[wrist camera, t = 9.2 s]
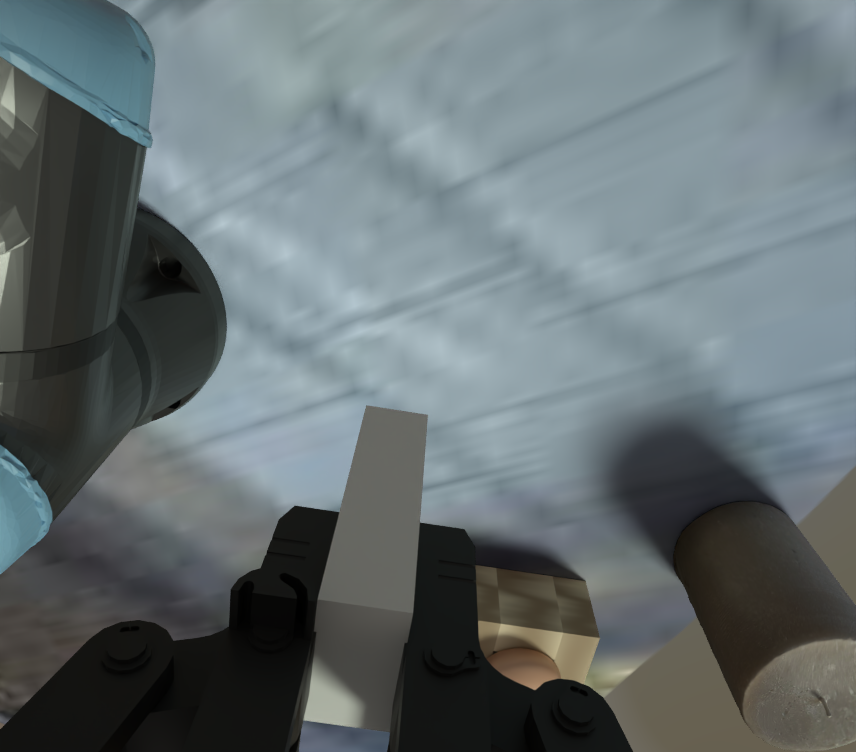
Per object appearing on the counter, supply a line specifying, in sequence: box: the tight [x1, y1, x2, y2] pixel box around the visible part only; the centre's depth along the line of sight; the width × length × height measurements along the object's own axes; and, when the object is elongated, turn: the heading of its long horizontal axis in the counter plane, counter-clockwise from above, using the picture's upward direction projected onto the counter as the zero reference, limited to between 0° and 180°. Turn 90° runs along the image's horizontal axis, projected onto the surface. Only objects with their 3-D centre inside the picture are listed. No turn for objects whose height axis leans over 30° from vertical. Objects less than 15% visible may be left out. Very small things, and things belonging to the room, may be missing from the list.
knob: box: [487, 648, 561, 690], centre depth 54 cm, size 6×6×8 cm
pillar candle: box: [673, 501, 856, 751], centre depth 47 cm, size 10×10×15 cm
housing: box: [475, 565, 600, 684], centre depth 55 cm, size 10×10×6 cm
